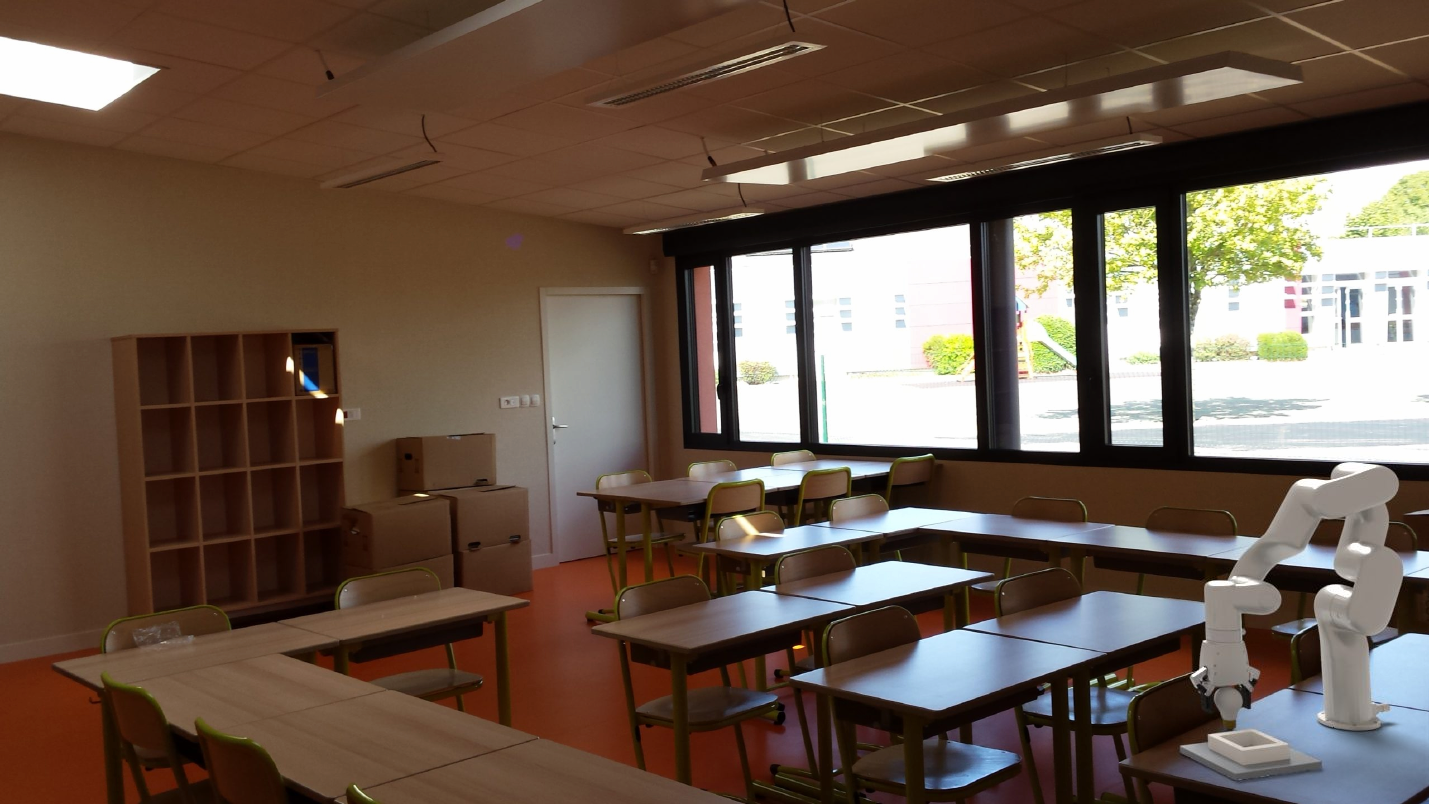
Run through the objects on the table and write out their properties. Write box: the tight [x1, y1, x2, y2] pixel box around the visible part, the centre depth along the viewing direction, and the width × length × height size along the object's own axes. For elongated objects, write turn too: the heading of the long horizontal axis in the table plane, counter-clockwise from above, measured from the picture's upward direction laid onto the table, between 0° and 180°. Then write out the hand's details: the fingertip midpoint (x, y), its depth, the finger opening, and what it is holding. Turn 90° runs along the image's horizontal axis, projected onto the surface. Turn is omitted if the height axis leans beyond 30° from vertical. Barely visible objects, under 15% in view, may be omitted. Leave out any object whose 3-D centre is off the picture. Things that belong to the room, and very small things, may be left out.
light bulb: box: [1213, 686, 1243, 732], centre depth 243 cm, size 6×6×10 cm
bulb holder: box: [1179, 728, 1323, 781], centre depth 224 cm, size 20×18×4 cm
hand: (1226, 709), depth 243 cm, fingers open, 9 cm apart
